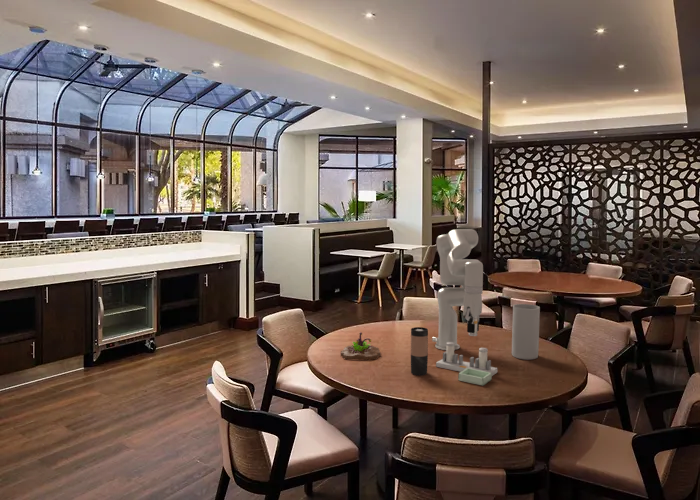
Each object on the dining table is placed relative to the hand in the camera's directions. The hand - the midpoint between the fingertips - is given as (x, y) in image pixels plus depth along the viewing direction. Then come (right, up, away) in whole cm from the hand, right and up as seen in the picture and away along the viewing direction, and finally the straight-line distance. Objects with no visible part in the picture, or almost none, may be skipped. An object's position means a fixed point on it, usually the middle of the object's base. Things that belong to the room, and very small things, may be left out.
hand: (472, 331), depth 231 cm
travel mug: (-23, -20, +7) cm, 31 cm away
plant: (-48, -18, +36) cm, 62 cm away
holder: (0, -19, +12) cm, 22 cm away
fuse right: (+6, -18, +7) cm, 20 cm away
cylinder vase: (+33, -17, +32) cm, 49 cm away
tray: (0, -21, -3) cm, 21 cm away
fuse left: (-7, -17, +16) cm, 24 cm away
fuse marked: (0, -2, 0) cm, 2 cm away
